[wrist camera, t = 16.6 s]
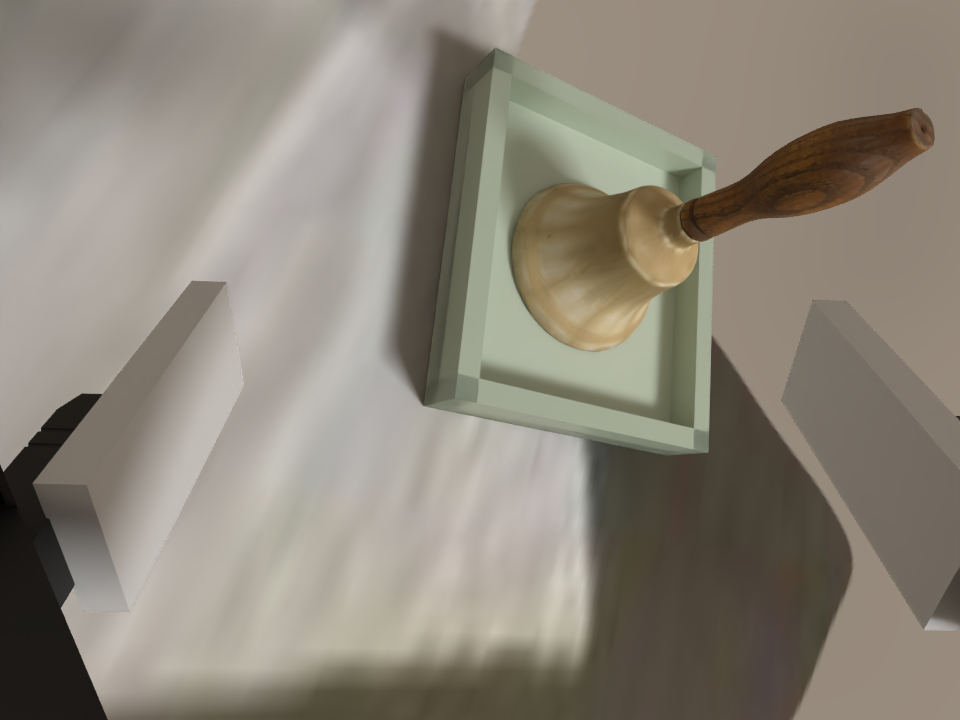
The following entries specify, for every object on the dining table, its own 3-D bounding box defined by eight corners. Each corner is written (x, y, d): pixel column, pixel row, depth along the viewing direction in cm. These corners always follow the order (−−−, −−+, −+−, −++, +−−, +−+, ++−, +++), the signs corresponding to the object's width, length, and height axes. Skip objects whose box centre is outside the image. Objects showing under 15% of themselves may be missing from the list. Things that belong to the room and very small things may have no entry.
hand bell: (661, 342, 36) (1021, 251, 23) (529, 361, 32) (877, 262, 18) (628, 185, 37) (960, 6, 23) (495, 183, 33) (807, -39, 19)
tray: (464, 78, 34) (495, 47, 32) (677, 176, 41) (715, 156, 38) (423, 405, 30) (454, 398, 28) (666, 455, 37) (708, 452, 34)
